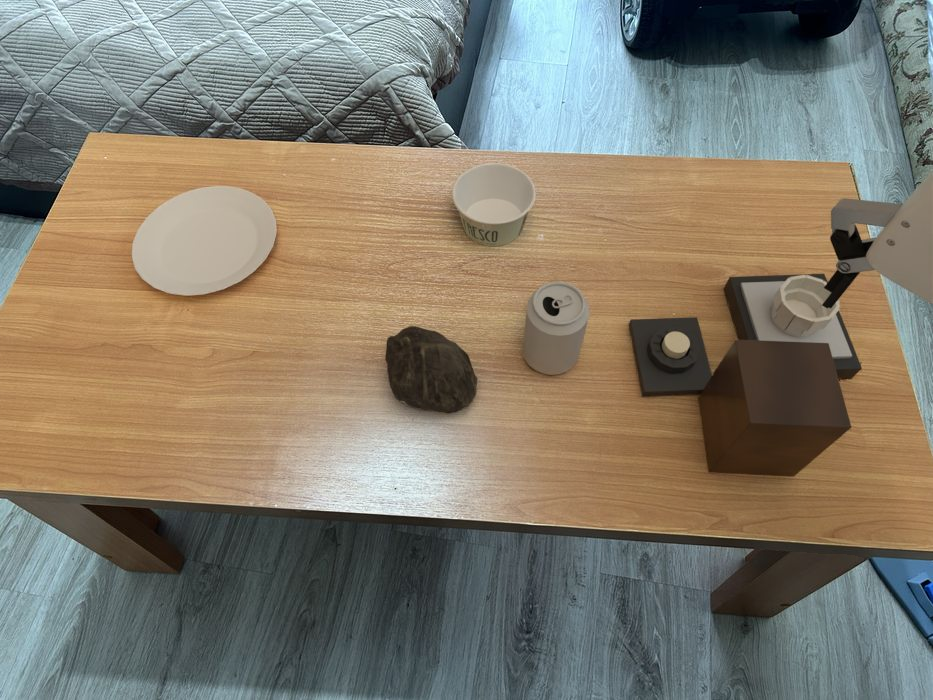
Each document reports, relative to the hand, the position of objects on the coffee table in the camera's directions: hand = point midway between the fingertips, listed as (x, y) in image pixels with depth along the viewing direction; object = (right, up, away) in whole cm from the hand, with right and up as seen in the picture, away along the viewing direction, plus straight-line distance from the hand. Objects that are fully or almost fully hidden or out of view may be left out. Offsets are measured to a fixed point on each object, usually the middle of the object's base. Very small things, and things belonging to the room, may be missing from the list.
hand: (890, 330), depth 52 cm
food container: (-30, +18, +47) cm, 58 cm away
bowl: (+9, +3, +33) cm, 34 cm away
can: (-23, -2, +35) cm, 42 cm away
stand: (0, -12, +28) cm, 31 cm away
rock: (-38, -6, +33) cm, 50 cm away
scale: (+9, +1, +36) cm, 37 cm away
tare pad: (-7, -3, +34) cm, 35 cm away
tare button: (-7, -1, +32) cm, 33 cm away
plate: (-72, +14, +46) cm, 86 cm away
